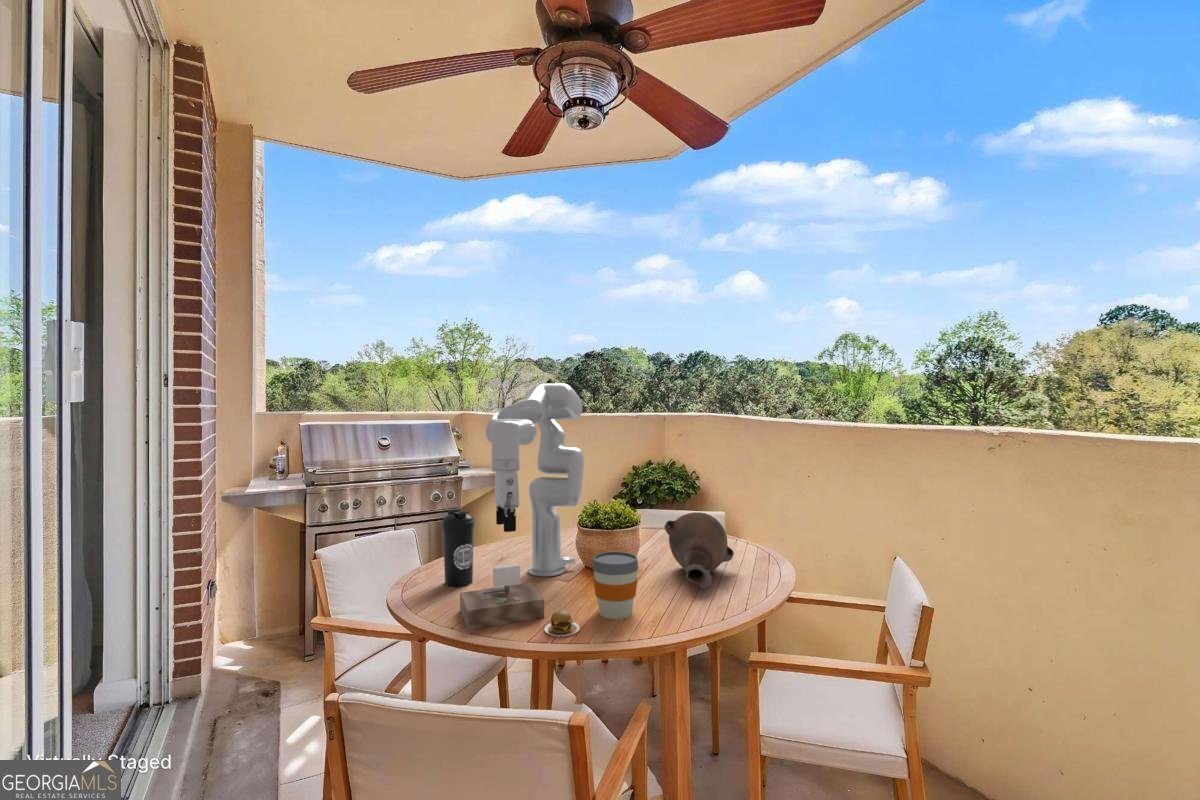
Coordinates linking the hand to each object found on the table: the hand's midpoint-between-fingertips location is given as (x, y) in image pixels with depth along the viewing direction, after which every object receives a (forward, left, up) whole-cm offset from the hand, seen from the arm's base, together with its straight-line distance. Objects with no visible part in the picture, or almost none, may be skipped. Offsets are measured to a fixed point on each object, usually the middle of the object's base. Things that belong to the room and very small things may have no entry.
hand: (505, 527), depth 155 cm
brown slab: (+2, +2, -23) cm, 23 cm away
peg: (+1, 0, -18) cm, 18 cm away
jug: (-64, -5, -23) cm, 68 cm away
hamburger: (-10, +18, -24) cm, 31 cm away
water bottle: (+9, -29, -23) cm, 38 cm away
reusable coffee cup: (-27, +13, -23) cm, 38 cm away
